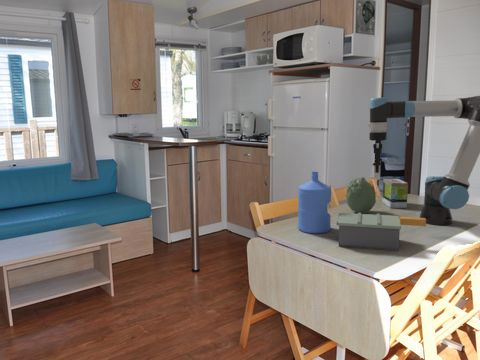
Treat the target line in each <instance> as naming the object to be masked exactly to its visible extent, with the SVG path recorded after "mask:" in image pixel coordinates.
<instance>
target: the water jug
mask: <svg viewBox="0 0 480 360" xmlns="http://www.w3.org/2000/svg"><path fill="white" fill-rule="evenodd" d="M331 187H332V186H330V185H328V184H327V183H324V182H321V181H320V180H319V171H311V180H309V181H307V182H304V183H303V184H300V185H299V186H298V191H297V197H298V198H297V199H298V200H297V201H298V203H297V204H298V205H297V206H298V207H297V212H298V213H297V214H298V215H297V220H298V223H297V229H298V230H299V231H301V232H303V233H307V234H324V233H327V232H329V231H331V228H332V227H331V226H332V225H331V218H332V216H331V214H330V213H329V212H328V205H329V203H330V202H331V200H332V188H331Z"/></svg>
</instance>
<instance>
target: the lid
mask: <svg viewBox="0 0 480 360" xmlns="http://www.w3.org/2000/svg"><path fill="white" fill-rule="evenodd" d="M336 226H338V227H339V226H354V227H370V228H386V229H400V230H402V226H413V227H414V226H417V227H418V226H419V227H426V226H427V223H426V219H425V218H420V217H412V216H399V215H390V214H389V215H387V214H380V213H376V214H369V213H368V214H367V213H366V214H365V213H349V212H339V213H338V217H337V220H336Z"/></svg>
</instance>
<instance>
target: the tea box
mask: <svg viewBox="0 0 480 360" xmlns="http://www.w3.org/2000/svg"><path fill="white" fill-rule="evenodd" d="M408 191H409V183H408V182H406V181H404V180H402V179H400V178H383V182H382V196H381V197H382V201H381V202H382V203H383V204H384V205H386V206H387V207H388V208H390V209H391V208H392V209H401V208H402V209H406V208H408V194H409V193H408Z"/></svg>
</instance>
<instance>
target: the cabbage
mask: <svg viewBox="0 0 480 360" xmlns="http://www.w3.org/2000/svg"><path fill="white" fill-rule="evenodd" d="M345 199H346V203H347V206H348V207H349V209H350V210H351V211H353V212H354V213H356V214H358V213H361V214H365V213H367V212H369V211H371V210H372V209H373V207H375V206H376V205H375V204H376V202H377V199H376V190H375V186H374V185H372V184H371V183H370V182H368V181H367V179H366V178H365V177H364V176H363V177H358V178H353V179H350V180H349V182H348V186H347V188H346V192H345Z"/></svg>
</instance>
